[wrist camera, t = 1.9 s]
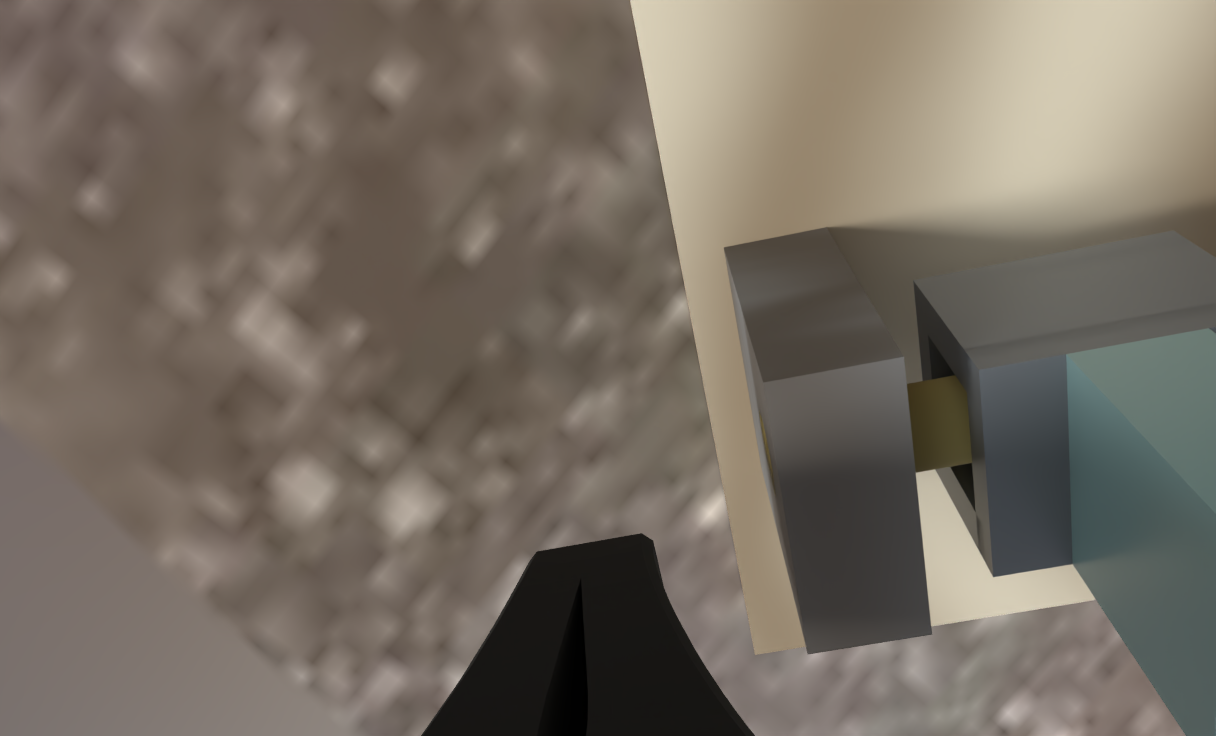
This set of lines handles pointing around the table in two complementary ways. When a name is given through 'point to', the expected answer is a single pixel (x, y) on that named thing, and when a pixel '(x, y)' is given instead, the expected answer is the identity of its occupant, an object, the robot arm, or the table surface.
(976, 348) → the sleeve
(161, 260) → the table surface
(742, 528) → the rod and block board
